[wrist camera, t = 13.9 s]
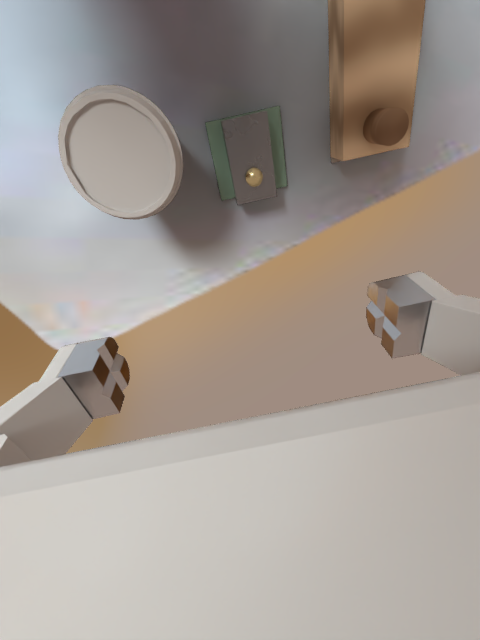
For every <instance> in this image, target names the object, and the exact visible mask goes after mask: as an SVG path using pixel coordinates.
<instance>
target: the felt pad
mask: <svg viewBox="0 0 480 640" xmlns="http://www.w3.org/2000/svg"><path fill="white" fill-rule="evenodd" d="M261 111H267V115H268V123H269V132H270V140H271V149H272V157H273V166H274V174H275V183H276V189H277V188H281V187H286V186H287V180H286V169H285V158H284V147H283V137H282V126H281V115H280V106H276V107H271V108H267V109H263V110H258V111H254V112H249V113H245V114H241V115H236V116H232V117H228V118H223V119H219V120H215V121H210V122H206V123H205V125H206V130H207V134H208V139H209V144H210V148H211V153H212V158H213V162H214V167H215V172H216V177H217V181H218V186H219V191H220V195H221V200H222V201H223V200H227V199H232V198H235V194H234V188H233V183H232V178H231V173H230V168H229V162H228V157H227V152H226V147H225V142H224V136H223V131H222V126H221V121H223V120H227V119H231V118H235V117H240V116H244V115H248V114H252V113H257V112H261Z"/></svg>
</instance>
